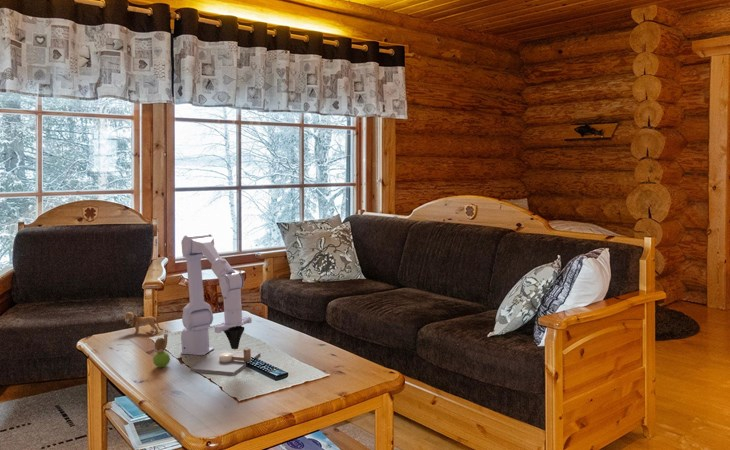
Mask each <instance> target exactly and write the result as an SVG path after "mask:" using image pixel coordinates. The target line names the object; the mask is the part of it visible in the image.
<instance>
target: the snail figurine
mask: <svg viewBox="0 0 730 450" xmlns="http://www.w3.org/2000/svg"><path fill="white" fill-rule="evenodd" d="M168 331H169V330H168V329H164V332H165V333H164V334H163V337H158V338H157V339H156V340H155V342H154V348H155V350H156V351H155V352H156V353H155V354H154V355H153V357H152V358H153V359H152V361H153V364H154V365H155V366H156V368H165V367H167V366H168V365H169V363H170V361H171V358H170V357H171V356H170V354H169V353H168V352H166V351H165V350H166V348H167V346H168Z"/></svg>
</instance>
